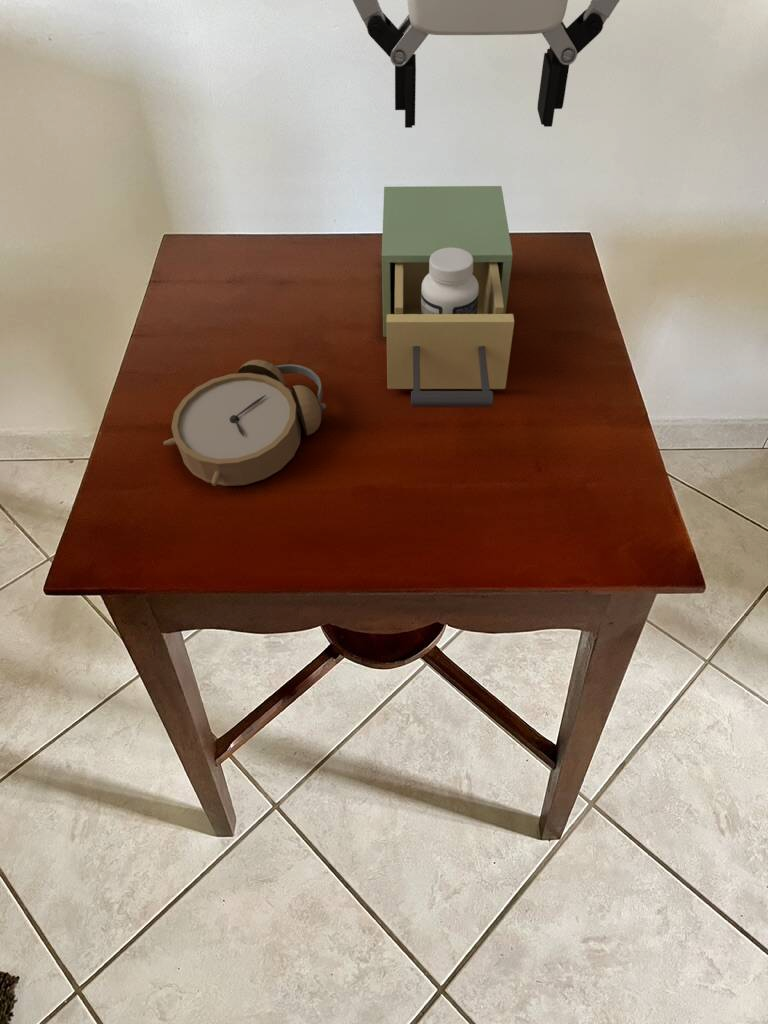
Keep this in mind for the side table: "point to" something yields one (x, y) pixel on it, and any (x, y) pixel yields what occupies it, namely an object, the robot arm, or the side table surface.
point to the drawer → (448, 342)
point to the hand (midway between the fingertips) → (476, 119)
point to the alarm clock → (245, 423)
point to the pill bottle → (450, 284)
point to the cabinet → (443, 230)
